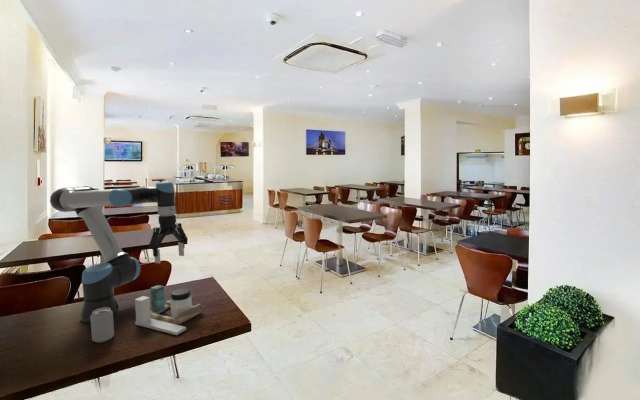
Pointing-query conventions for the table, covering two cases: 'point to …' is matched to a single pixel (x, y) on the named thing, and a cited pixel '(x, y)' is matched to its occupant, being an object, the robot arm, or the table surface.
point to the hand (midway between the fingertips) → (170, 259)
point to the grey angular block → (145, 319)
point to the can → (102, 324)
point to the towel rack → (160, 306)
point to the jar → (180, 301)
